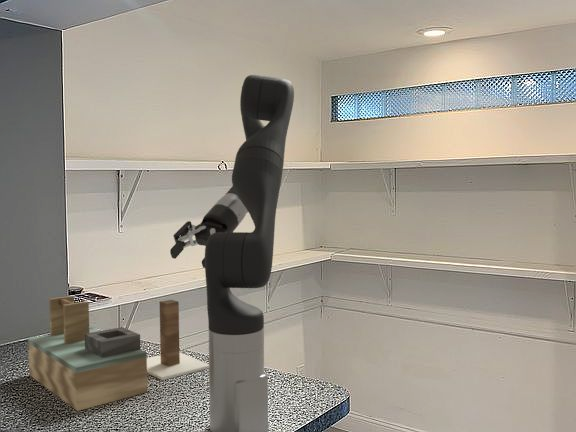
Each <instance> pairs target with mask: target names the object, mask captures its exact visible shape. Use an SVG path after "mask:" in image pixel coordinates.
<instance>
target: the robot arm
mask: <svg viewBox="0 0 576 432" xmlns="http://www.w3.org/2000/svg"><path fill="white" fill-rule="evenodd" d="M294 102H295V90H294V85H293V83H292V81H290V80H288V79H285V78H281V77H274V76H266V75H260V74H249V75H247V76H246V77H245V79H243V84H242V86H241V91H240V102H239V104H240V105H239V106H240V107H239V108H240V115H241V120H242V127H243V132H244V136H245V141H244V142H243V143H242V144H241V145H240V147H239V148H238V150H237V152H236V155H235V160H234V165H233V169H232V174H231V183H232V186H231V187H230V188H229V190H228V191H227V192H226V193H225V194H224V195H223V196H222V197H220V198H219V199H218V200H217V202H216V203H214V205H213V206H212V207H211V208H210V209H209V210H208V211H207V213H206V214H205V215H204V216H203V218H202V220H201V222H200V223H199V224H197V225H195V224H192V221H190V220H188V221H186V222H185V223H184V224H183V225H182V226H181V227H180V228H179V229H178V230H177V231H176V232H175V233H174V234H173V239H174V242H175V244H174V245H173V246H172V247H171V248H170V249H169V250H170V251H169V252H170V256H171V258H172V259H177V258H178V256H180V254H181V253H182V252H183V250H184V249H185V248H188V247H190V246H191V247H194V246H197V245H199V246H204V247H205V248H204V257H203V259H202V260H201V265H202V268H204V271H205V272H204V273H205V284H206V286H205V287H206V304H207V305H206V306H207V307H206V308H207V310H206V311H207V317H208V321H207V322H208V364H209V368H208V375H209V376H208V383H209V385H208V386H209V387H208V388H209V391H208V392H209V393H208V395H209V426H210V427H209V430H210V432H268V431H269V387H268V386H269V385H268V384H269V379H268V378H269V377H268V375H266V374H265V329H264V328H265V321H264V320H265V317H264V313H263V311H262V310H261V309H260V308H259V307H257V306H254V305H252V304H250V303H247V302H245V301H243V300H242V299H240V298H238V297H237V296H235V294H234V293H233V292H232V290H231V289H258V288H259V289H260V288H263V287H265V286H267V284H268V283H269V281H270V278H271V274H272V270H273V269H272V268H273V260H274V243H275V227H276V217H277V216H276V214H277V207H278V200H279V194H280V189H281V183H282V179H283V170H284V161H285V150H286V141H287V133H288V130H289V124H290V120H291V116H292V112H293V107H294ZM262 121H264V122H268V123H267V124H266V125H265V124H264V123H263V122H262ZM247 214H249V216H250V218H251V220H252V222H253V225H254V230H253V231H251V232H246V231H245V232H241V231H239V232H238V231H237V232H234V231H235V230H236V229H237V228H238V227H239V225H240V224H241V223H242V221H243V220H244V218H245V217H246V215H247ZM193 237H194V240H193Z"/></svg>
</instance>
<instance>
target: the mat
mask: <svg viewBox="0 0 576 432" xmlns="http://www.w3.org/2000/svg"><path fill="white" fill-rule="evenodd" d="M179 353H180V364H176V365H172V366H166V365H163V364H161V354H160V355H155V356H151V357H147V374H149V375H151V376H153V377H155V378H157V379H158V380H160V381H165V380H169V379H173V378H176V377H180V376H184V375H188V374H192V373H195V372H199V371H200V372H201V371H204V370H207V369H208V370H209V363H206V362H204V361H201V360H199V359H197V358H195V357H192V356H189V355H187V354H185V353H182V352H180V351H179Z"/></svg>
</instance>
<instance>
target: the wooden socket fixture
mask: <svg viewBox="0 0 576 432" xmlns="http://www.w3.org/2000/svg"><path fill="white" fill-rule="evenodd" d="M48 300H49V302H48V303H49V305H48V306H49V331H50V333H49V334H45V335H41V336H34V337H30V338H27V345H28V367H29V368H28V369H29V370H28V372H29V376H30V377H31V378H32V379H34V380H35V381H37V382H38V383H39V384H40V385H42V386H43V387H44V388H46V389H47V390H48V391H50V392H51V393H52V394H54V395H55V396H57V397H58V398H59V399H60V400H62V401H63V402H65V404H67V405H69V406H70V407H71V408H73V409H74V410H75V411H77V412H78V411H82V410H86V409H89V408H94V407H98V406H101V405H104V404H108V403H112V402H116V401H120V400H123V399H124V400H125V399H126V398H130V397H134V396H138V395H142V394H145V393H148V373H147V358H148V357H147V355H148V354H147V351H145V350H143V349H141V334H139V333H137V332H135V331H133V330H130V329H127V328H125V327H123V326H121V327H115V328H110V329H108V328H107V329H104V330H99V329H96V328H95V327H92V326H90V308H89V307H90V306H89V305H90V303H89V301H87V300H86V301H85V300H84V301H79V302H75V296H74V295H67V296H61V297H53V298H49V299H48Z"/></svg>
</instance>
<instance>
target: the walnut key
mask: <svg viewBox="0 0 576 432" xmlns="http://www.w3.org/2000/svg"><path fill="white" fill-rule="evenodd" d="M179 311H180V304H179V301H178V300H175V299H174V300H173V299H166V300H161V301H159V339H160V340H159V341H160V355H161V364H163V365H166V366H172V365H176V364H180V353H181V352H180V315H179V313H180V312H179ZM179 352H180V353H179Z"/></svg>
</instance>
